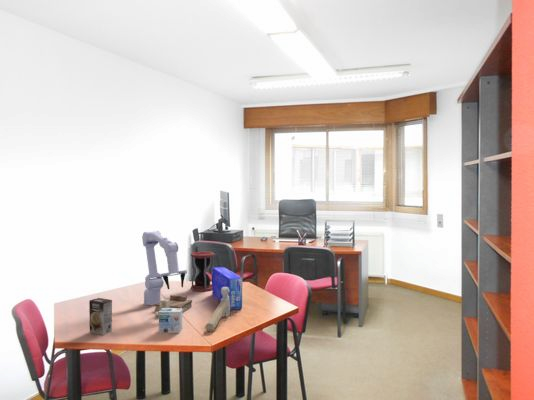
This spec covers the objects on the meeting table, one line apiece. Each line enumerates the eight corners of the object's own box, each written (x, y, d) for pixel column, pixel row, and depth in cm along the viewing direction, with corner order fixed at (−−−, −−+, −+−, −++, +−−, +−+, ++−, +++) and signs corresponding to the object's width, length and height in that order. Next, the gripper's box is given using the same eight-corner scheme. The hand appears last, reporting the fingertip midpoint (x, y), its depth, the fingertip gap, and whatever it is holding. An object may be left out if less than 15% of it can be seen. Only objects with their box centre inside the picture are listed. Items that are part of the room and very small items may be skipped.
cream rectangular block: (159, 314, 247) (159, 300, 246) (163, 312, 251) (163, 298, 250) (166, 315, 246) (166, 301, 245) (169, 313, 249) (169, 299, 249)
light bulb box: (158, 333, 217) (158, 311, 216) (161, 328, 224) (161, 307, 223) (180, 333, 217) (180, 311, 216) (182, 328, 224) (182, 307, 223)
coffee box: (88, 332, 217) (88, 300, 216) (98, 328, 223) (98, 297, 222) (103, 335, 213) (102, 302, 213) (112, 331, 219) (112, 299, 218)
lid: (154, 306, 253) (154, 300, 253) (167, 299, 267) (167, 293, 267) (180, 308, 248) (180, 302, 248) (192, 301, 262) (192, 296, 262)
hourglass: (210, 285, 318) (210, 250, 317) (217, 290, 303) (217, 254, 302) (188, 287, 311) (188, 252, 310) (194, 292, 296) (194, 255, 295)
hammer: (213, 314, 216) (230, 286, 244) (204, 313, 217) (221, 286, 245) (215, 342, 220) (231, 312, 249) (206, 341, 221) (223, 311, 250)
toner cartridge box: (242, 309, 259) (242, 278, 258) (228, 310, 256) (228, 279, 255) (224, 293, 295) (224, 266, 294) (212, 294, 292) (212, 267, 291)
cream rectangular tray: (148, 314, 247) (148, 309, 247) (167, 304, 267) (167, 299, 267) (174, 317, 242) (174, 311, 242) (191, 307, 262) (191, 302, 262)
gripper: (158, 265, 245) (161, 290, 244) (185, 262, 247) (187, 286, 245) (160, 265, 252) (163, 289, 250) (186, 262, 254) (188, 286, 252)
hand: (175, 288), depth 248 cm, fingers open, 7 cm apart
